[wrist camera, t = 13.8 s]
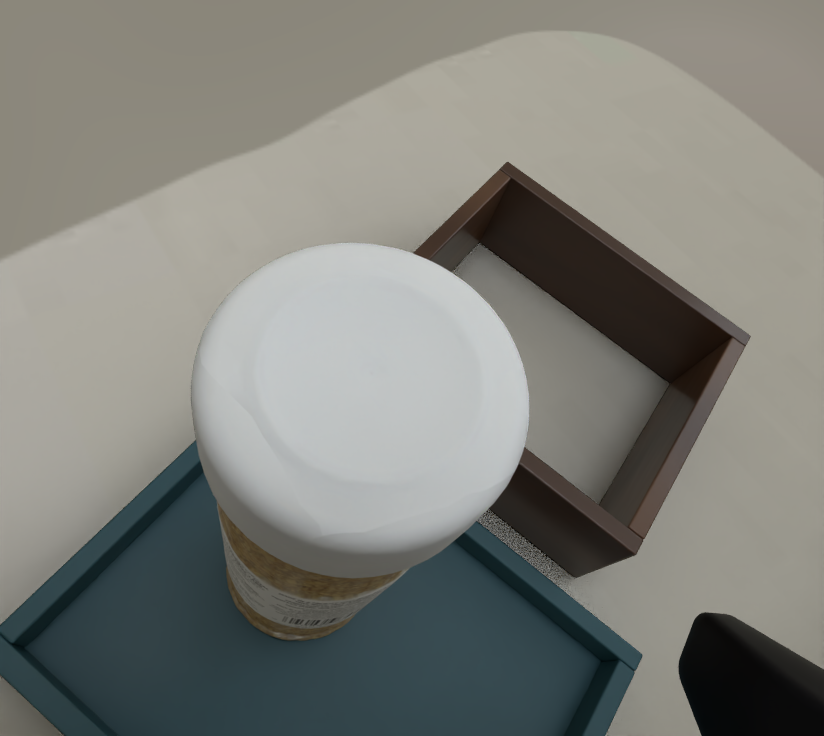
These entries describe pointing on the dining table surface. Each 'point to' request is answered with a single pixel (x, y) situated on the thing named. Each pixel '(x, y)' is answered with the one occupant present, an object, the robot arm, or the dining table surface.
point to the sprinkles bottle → (350, 427)
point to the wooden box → (627, 326)
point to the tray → (303, 642)
